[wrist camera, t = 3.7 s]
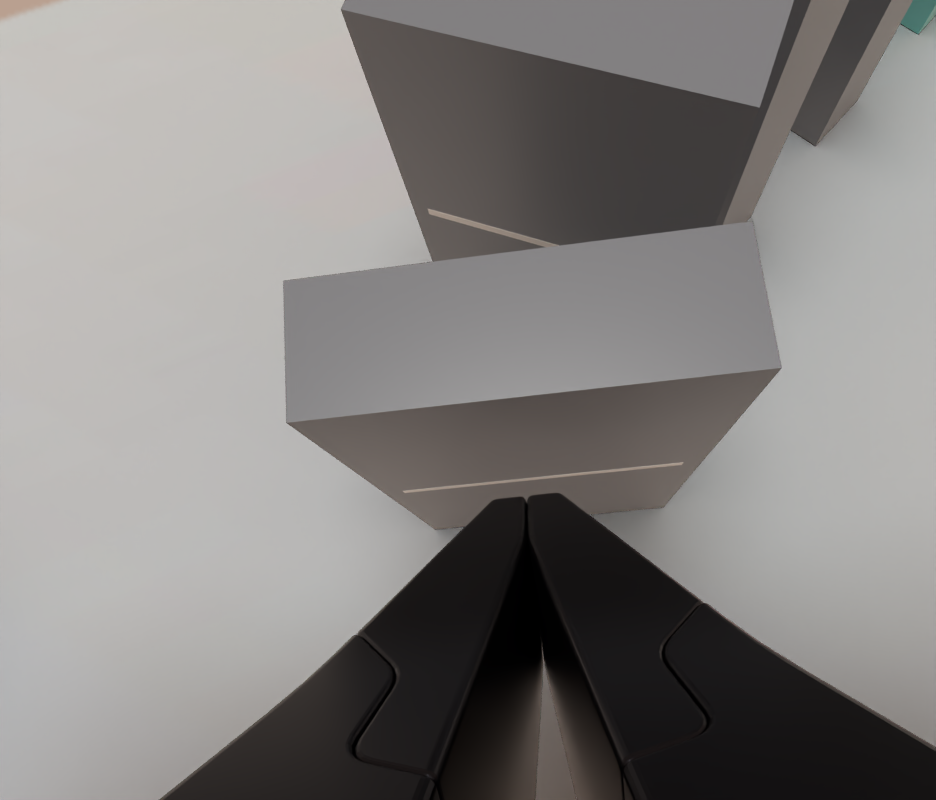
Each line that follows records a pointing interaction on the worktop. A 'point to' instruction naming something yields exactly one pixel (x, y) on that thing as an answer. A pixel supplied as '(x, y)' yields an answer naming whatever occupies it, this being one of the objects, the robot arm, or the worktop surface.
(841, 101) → the domino
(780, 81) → the domino
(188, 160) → the worktop surface
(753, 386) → the domino
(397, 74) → the domino
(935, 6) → the domino
